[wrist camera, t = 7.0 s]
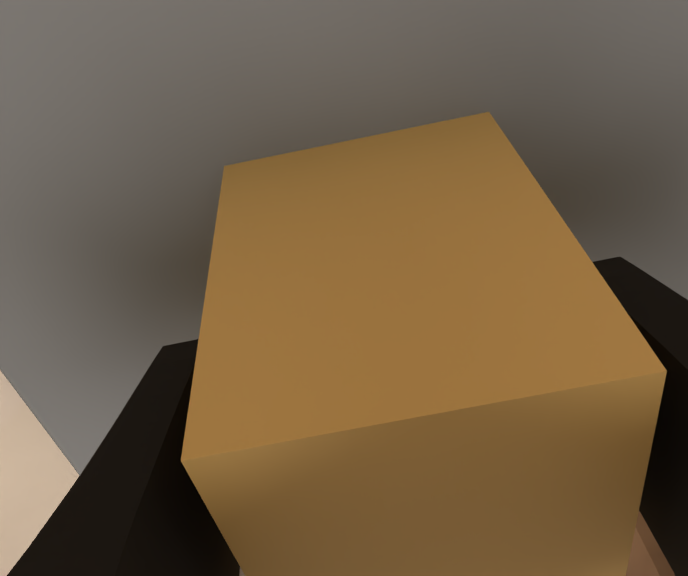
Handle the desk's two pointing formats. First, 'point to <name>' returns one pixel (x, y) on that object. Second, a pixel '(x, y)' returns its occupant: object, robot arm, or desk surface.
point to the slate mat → (291, 149)
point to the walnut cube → (646, 553)
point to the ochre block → (414, 368)
